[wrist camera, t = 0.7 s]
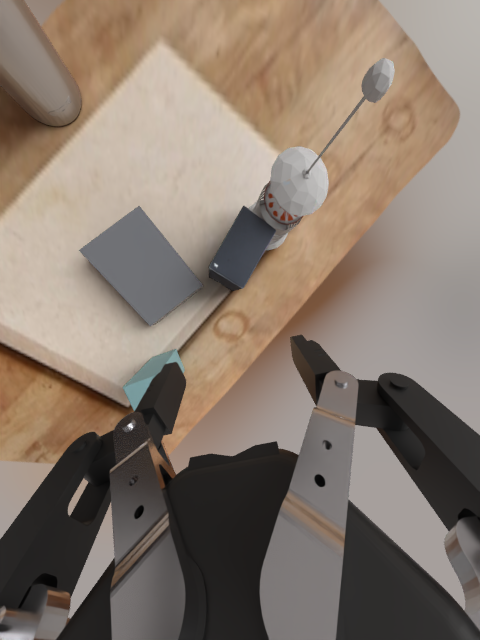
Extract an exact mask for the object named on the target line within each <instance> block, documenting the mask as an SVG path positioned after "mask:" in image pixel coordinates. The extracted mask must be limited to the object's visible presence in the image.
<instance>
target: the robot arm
mask: <svg viewBox="0 0 480 640" xmlns="http://www.w3.org/2000/svg"><path fill="white" fill-rule="evenodd" d="M0 86H1V87H2V88H3V89H4V90H5V91H6V92H7V93H8V94H9V95H10V96H11V97H12V98H13V99H14V100H15V101H16V102H17V103H18V104H19V105H20V106H21V107H22V108H23V109H24V110H25V111H26V112H27V113H28V114H29V115H31V116H32V117H33V118H35V119H36V120H38V121H39V122H42V123H44V124H46V125H51V126H63V125H67V124H69V123H71V122H72V121H73V120H74V119H76V117H77V116H78V114H79V112H80V109H81V94H80V91H79V88H78V85H77V84H76V82H75V80H74V78H73V77H72V75H71V73H70V72H69V70H68V69H67V67H66V66H65V64H64V62H63V61H62V59H61V58H60V56H59V55H58V53H57V51H56V50H55V48H54V47H53V45H52V43H51V42H50V40H49V38H48V37H47V35H46V34H45V32H44V31H43V29H42V27H41V26H40V24H39V23H38V21H37V20H36V18H35V16H34V15H33V13H32V12H31V10H30V8H29V7H28V5H27V4H26V2H25V1H24V0H0ZM290 340H291V350H292V357H293V361H294V364H295V365H296V368H297V370H298V371H299V373H300V375H301V377H302V379H303V381H304V383H305V385H306V387H307V389H308V391H309V393H310V395H311V397H312V399H313V401H314V403H315V404H316V406H317V407H316V408H314V409H313V411H312V414H311V417H310V420H309V424H308V427H307V430H306V434H305V437H304V440H303V444H302V447H301V450H300V454H299V455H297V454H295V453H293V452H290V451H288V450H284V449H278V444H277V442H271V443H266V444H260V445H255V446H253V447H251V448H249V449H247V450H245V451H243V452H241V453H239V454H237V455H235V456H224V455H217V454H207V455H201V456H196V457H191V458H190V461H189V466H188V467H187V468H185V469H184V470H182V471H181V472H180V473H178V474H177V475H176V473H175V471H174V469H173V466H172V464H171V462H170V459H169V456H168V454H167V451H166V448H165V446H164V443H163V442H162V438H163V435H168V434H172V430H173V427H174V424H175V420H176V417H177V414H178V410H179V407H180V404H181V401H182V397H183V394H184V391H185V387H186V379H185V377H184V375H183V373H182V370H181V368H180V366H179V364H178V363H177V362H172V363H168V364H165V365H164V366H163V368H162V370H161V372H160V373H158V374H157V375H156V376H155V377H154V378H153V379H152V381H151V383H150V384H149V387H148V388H147V390H146V392H145V393H144V395H143V397H142V399H141V401H140V402H139V404H138V406H137V408H136V410H135V411H134V412H133V413H130V414H128V415H127V416H125V417H124V418H123V419H122V420H121V421H120V422H119V423H118V424H117V425H116V427H115V429H114V430H113V431H111V432H109V433H107V434H105V435H102V436H100V437H99V436H98V435H97V434H96V433H95V432H89V433H86V434H84V435H82V436H81V437H79V438H78V439H77V440H75V441H74V442H73V443H72V444H71V445H70V446H69V447H68V448H67V450H66V451H65V452H64V454H63V455H62V456H61V458H60V459H59V460H58V462H57V463H56V465H55V466H54V467H53V469H52V470H51V471H50V473H49V474H48V476H47V477H46V478H45V480H44V481H43V482H42V484H41V485H40V486H39V488H38V489H37V490H36V492H35V493H34V494H33V496H32V497H31V499H30V500H29V501H28V503H27V504H26V505H25V507H24V508H23V509H22V511H21V512H20V514H19V515H18V516H17V518H16V519H15V520H14V522H13V523H12V524H11V526H10V527H9V529H8V530H7V531H6V533H5V534H4V535H3V537H2V538H1V539H0V640H480V435H479V434H477V433H476V432H475V431H474V430H473V429H471V428H470V427H469V426H468V425H467V424H465V423H464V422H463V421H462V420H461V419H459V418H458V417H457V416H456V415H455V414H453V413H452V412H451V411H450V410H449V409H447V408H446V407H445V406H444V405H443V404H442V403H440V402H439V401H438V400H437V399H436V398H434V397H433V396H432V395H431V394H430V393H428V392H427V391H426V390H425V389H424V388H422V387H421V386H420V385H419V384H418V383H416V382H415V381H414V380H412V379H411V378H409V377H407V376H404V375H401V374H396V373H384V374H382V375H380V376H379V378H378V381H370V380H358V379H356V378H355V377H354V376H352V375H351V374H349V373H347V372H343V371H341V370H340V369H339V367H338V366H337V365H336V364H335V363H334V362H333V360H332V359H331V358H330V357H329V356H328V354H327V353H326V352H325V351H324V350H323V349H322V347H321V346H320V345H319V344H318V343H316V342H314V341H312V340H310V341H306V339H305V338H304V337H303V335H297V336H293V337H290ZM355 425H361V426H368V427H375V428H377V430H378V431H379V433H380V434H381V435H382V436H383V438H384V440H385V441H386V443H387V444H388V445H389V447H390V448H391V449H392V451H393V452H394V454H395V455H396V457H397V458H398V460H399V461H400V462H401V464H402V465H403V467H404V468H405V470H406V471H407V472H408V474H409V475H410V477H411V478H412V480H413V481H414V482H415V484H416V485H417V486H418V488H419V489H420V491H421V492H422V494H423V495H424V497H425V498H426V499H427V501H428V502H429V504H430V505H431V507H432V508H433V509H434V511H435V512H436V514H437V515H438V517H439V518H440V519H441V521H442V522H443V524H444V525H445V526H446V528H447V529H448V531H449V532H448V533H447V535H446V537H445V541H444V545H445V550H446V554H447V556H448V559H449V561H450V563H451V565H452V567H453V568H454V571H455V572H456V574H457V576H458V578H459V580H460V583H461V585H462V588H463V592H464V596H465V611H464V610H463V609H462V607H461V606H460V605H459V604H458V603H457V602H456V601H455V600H454V598H453V597H452V596H451V595H450V594H449V593H448V592H447V591H446V590H445V589H444V588H443V587H442V586H441V585H440V584H439V583H438V582H437V581H436V580H435V579H433V578H432V577H431V576H430V575H429V574H428V573H427V572H426V571H425V570H424V569H423V568H422V567H420V566H419V565H418V564H417V563H416V562H415V561H414V560H413V559H412V558H411V557H410V556H409V555H408V554H407V553H405V552H404V551H403V550H402V549H401V548H400V547H399V546H398V545H397V544H396V543H395V542H394V541H393V540H392V539H390V538H389V537H388V536H387V535H386V534H385V533H384V532H383V531H382V530H381V529H380V528H379V527H378V526H376V525H375V524H374V523H373V522H372V521H371V520H370V519H369V518H368V517H367V516H366V515H365V514H364V513H362V512H361V511H360V510H359V509H358V508H357V507H356V506H355V505H354V504H353V503H352V502H351V501H350V500H348V497H349V486H350V474H351V464H352V453H353V442H354V430H355ZM83 478H85V479H86V480H87V481H88V484H87V486H86V488H85V490H84V492H83V494H82V495H81V497H80V499H79V501H78V503H77V505H76V506H75V508H74V510H73V512H72V514H71V515H70V516H69V515H68V505H69V503H70V501H71V498H72V497H73V495H74V493H75V492H76V490H77V488H78V487H79V485H80V483H81V481H82V480H83ZM110 502H111V506H112V521H113V539H114V555H115V558H114V559H113V561H112V562H111V564H110V565H109V566H108V568H107V569H106V570H105V572H104V573H103V575H102V576H101V577H100V579H99V580H98V582H97V583H96V584H95V586H94V587H93V588H92V590H91V591H90V593H89V594H88V595H87V597H86V598H85V600H84V601H83V602H82V604H81V605H80V607H79V608H78V609H77V611H76V612H75V614H74V615H73V616H72V618H71V619H70V618H68V615H69V610H70V602H71V599H70V598H71V596H72V593H73V591H74V589H75V586H76V584H77V581H78V579H79V577H80V574H81V572H82V570H83V567H84V565H85V562H86V560H87V558H88V555H89V553H90V550H91V548H92V546H93V543H94V541H95V538H96V536H97V534H98V531H99V529H100V526H101V524H102V522H103V519H104V517H105V514H106V512H107V510H108V507H109V505H110Z"/></svg>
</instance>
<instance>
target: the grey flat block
mask: <svg viewBox="0 0 480 640" xmlns="http://www.w3.org/2000/svg"><path fill="white" fill-rule="evenodd" d="M79 251H80V252H81V253H82V254H83V255H84V256H85V257H86V258H87V259H88V261H89V262H90V263H91V264H92V265H93V266H94V267H95V268H96V269H97V270H98V271H99V272H100V273H101V274H102V275H103V277H104V278H105V279H106V280H107V281H108V282H109V283H110V284H111V285H112V286H113V287H114V288H115V289H116V290H117V291H118V292H119V294H120V295H121V296H122V297H123V298H124V299H125V300H126V301H127V302H128V303H129V304H130V305H131V306H132V307H133V308H134V310H135V311H136V312H137V313H138V314H139V315H140V316H141V317H142V318H143V319H144V320H145V321H146V322H147V323H148V324H149V325H150V326H152V325H154V324H156V323H158V322H159V321H160V320H162V319H163V318H164V317H165V316H167V315H168V314H169V313H171V312H172V311H173V310H174V309H176V308H177V307H178V306H179V305H181V304H182V303H183V302H185V301H186V300H187V299H188V298H190V297H191V296H192V295H194V294H195V293H196V292H197V291H199V290H200V289H201V288H202V287H204V286H203V285H202V283H201V282H200V281H199V280H198V278H197V277H196V276H195V275H194V273H193V272H192V271H191V270H190V268H189V267H188V266H187V265H186V263H185V262H184V261H183V260H182V258H181V257H180V256H179V255H178V253H177V252H176V251H175V250H174V248H173V247H172V246H171V245H170V243H169V242H168V241H167V240H166V238H165V237H164V236H163V235H162V233H161V232H160V231H159V230H158V229H157V227H156V226H155V225H154V224H153V222H152V221H151V220H150V219H149V217H148V216H147V215H146V214H145V212H144V211H143V210H142V209H141V207H140V206H138V207H137V208H135V209H134V210H133V211H131V212H130V213H129V214H127V215H126V216H125V217H123V218H122V219H120V220H119V221H118V222H116V223H115V224H114V225H112V226H111V227H110V228H108V229H107V230H106V231H104V232H103V233H102V234H100V235H99V236H98V237H96V238H95V239H93V240H92V241H91V242H89V243H88V244H87V245H85V246H84V247H83V248H81V249H80V250H79Z"/></svg>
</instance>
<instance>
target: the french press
mask: <svg viewBox="0 0 480 640" xmlns="http://www.w3.org/2000/svg"><path fill="white" fill-rule="evenodd" d="M393 76H394V64H393V61H390V60H388V59H385V58H382V59H380V60H379V61H378V62H376V63H375V64H374V65H373V66H372V67H371V68H369V70H368V71H367V73H366V74H365V76H364V78H363V81H362V92H363V94H364V97H363V98H362V99H361V101H360V102H359V103H358V105H357V106H356V107H355V109H354V110H353V111H352V113H351V114H350V115H349V116H348V118H347V119H346V120H345V122H344V123H343V124H342V126H341V127H340V128H339V130H338V131H337V132H336V134H335V135H334V136H333V138H332V139H331V140H330V142H329V143H328V144H327V146H326V147H325V148H324V150H323V151H322V152H321V153H320V155H319V156H318V155H317V154H316V153H314V152H313V151H312V150H310V149H307V148H304V147H300V146H299V147H293V148H288V149H287V150H285V151H284V152H283V153H281V154H280V155H279V156H278V157H277V159H276V161H275V163H274V164H273V166H272V171H271V180H270V181H269V183H268V184H267V185H265V187H264V188H263V190H264V189H265V188H266V189H265V190H264V191H263V190H262V191H263V192H261V194H260V196H259V199H258V200H257V202H256V203H255V204H253V205H252V206H251V207H249V210H250V211H252V212H253V213H255V214H256V215H257V216H258V217H260V218H261V219H263V220H264V221H265V222H267V223H268V224H269V225H271V226H272V227H273V228H274V229H276V232H275V234H274V236H273V238H272V239H271V241H270V243H269V244H268V246H267V248H266V250H271V249H275V248H277V247H278V246H280V245H281V244H282V243H283V242H284V240H285V238H286V237H287V235H288V232H289V231H290V230H292V229H293V228H294V227H295V225H298V224H299V222H300V221H301V219H302V217H303V216H304V215H309V214H312V213H313V212H314V211H316V210H317V209H318V208H320V207H321V205H322V203H323V201H324V200H325V198H326V196H327V190H328V185H329V182H328V175H327V169H326V167H325V165H324V163H323V162H322V160H321V158H320V157H321V156H322V154H323V153H324V152H325V151H326V149H327V148H328V147H329V145H330V144H331V143H332V142H333V140H334V139H335V138H336V136H337V135H338V134H339V133H340V131H341V130H342V129H343V128H344V126H345V125H346V124H347V122H348V121H349V120H350V119H351V117H352V116H353V115H354V113H355V112H356V111H357V110H358V108H359V107H360V106H361V104H362V103H363V102H364V101H365V99H367V100H368V101H370V102H374V103H375V102H377V101H379V100H380V99H381V98H382V97H383V96H384V94H385V93H386V92H387V90H388V89H389V87H390V86H391V84H392V81H393ZM264 192H265V193H264ZM263 193H264V194H263ZM262 194H263V195H264V197H262V196H263V195H262ZM261 195H262V196H261ZM261 197H262V198H261ZM260 198H261V199H263V198H264V200H261V199H260ZM260 200H261V201H260ZM297 222H298V223H297ZM294 223H297V224H295V225H294ZM289 224H290V227H289ZM291 224H293V225H292V227H293V226H294V227H293V228H292V227H291ZM288 228H289V229H288ZM290 228H291V229H290Z"/></svg>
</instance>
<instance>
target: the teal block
mask: <svg viewBox="0 0 480 640" xmlns="http://www.w3.org/2000/svg"><path fill="white" fill-rule="evenodd" d="M172 362H177V363H178V364H179V366H180V368H181V370H182V373H184V367H183V365H182V362H181V360H180V357H179V355H178V352H177V350H176V349H174V350H172V351H169V352H166V353H163V354H160V355H157V356H155V357H152V358H151V359H150V360H149V361H148V362H147V363H146V364H145V365H144V366H143V367H142V368H141V369H140V370H139V371H138V372H137V373H136V374H135V375H134V376H133V377H132V378H131V379H130V380H129V381H128V382H127V383H126V384H125V385H124V386H123V389H124V391H125V393H126V395H127V397H128V399H129V401H130V403H131V406H132V408H133V410H134V411H135V410H136V408H137V406H138V404H139V402H140V401H141V399H142V397H143V395H144V393H145V392H146V390H147V388H148V387H149V384H150V383H151V381H152V379H153V378H154V377H155V376H156V375H157V374H158V373H160V372H161V370H162V368H163V366H164V365H165V364H168V363H172Z"/></svg>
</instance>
